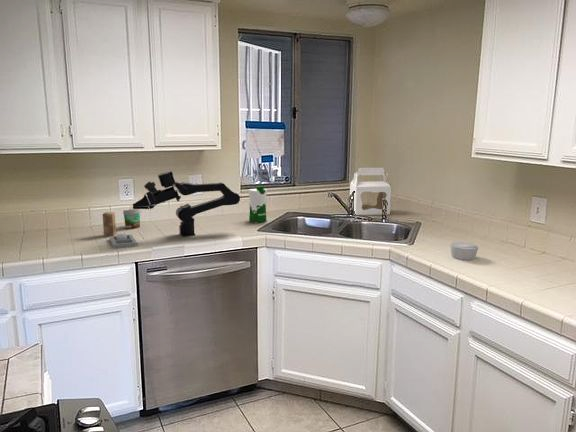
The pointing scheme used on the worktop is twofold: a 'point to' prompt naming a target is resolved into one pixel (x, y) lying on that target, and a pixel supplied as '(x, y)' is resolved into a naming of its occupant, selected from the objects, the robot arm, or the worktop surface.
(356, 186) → the gable box
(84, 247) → the worktop surface
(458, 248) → the ramekin
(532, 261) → the worktop surface
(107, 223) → the walnut block
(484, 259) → the worktop surface
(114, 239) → the grey divided frame
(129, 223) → the food container
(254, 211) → the milk carton
